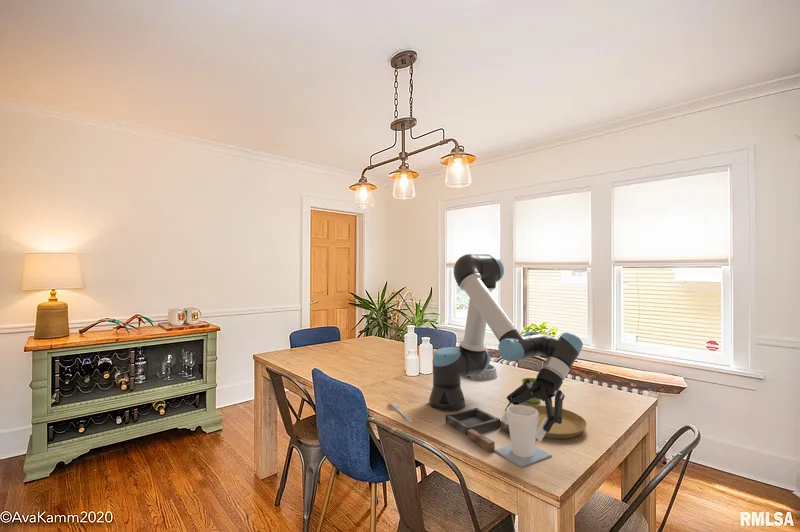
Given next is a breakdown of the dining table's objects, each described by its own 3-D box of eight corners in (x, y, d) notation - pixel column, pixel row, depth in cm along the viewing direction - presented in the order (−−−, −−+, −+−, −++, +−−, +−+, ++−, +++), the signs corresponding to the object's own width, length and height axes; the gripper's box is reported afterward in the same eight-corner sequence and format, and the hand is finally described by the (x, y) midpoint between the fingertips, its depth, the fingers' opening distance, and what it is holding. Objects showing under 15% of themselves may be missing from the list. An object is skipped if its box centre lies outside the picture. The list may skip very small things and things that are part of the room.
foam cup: (505, 456, 112) (504, 413, 112) (508, 442, 120) (508, 403, 120) (538, 462, 108) (538, 418, 108) (539, 448, 117) (539, 407, 117)
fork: (407, 429, 139) (408, 422, 138) (386, 405, 157) (386, 398, 157) (414, 427, 140) (414, 420, 140) (392, 403, 158) (392, 397, 158)
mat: (494, 451, 116) (494, 449, 116) (524, 441, 122) (524, 440, 122) (521, 467, 106) (521, 466, 106) (551, 456, 112) (551, 454, 112)
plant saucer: (550, 448, 118) (550, 438, 118) (501, 420, 140) (501, 411, 140) (602, 434, 128) (602, 424, 128) (549, 410, 150) (549, 401, 150)
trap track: (443, 423, 137) (443, 415, 137) (478, 414, 145) (478, 407, 145) (489, 452, 115) (489, 443, 115) (528, 440, 123) (528, 431, 123)
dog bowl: (483, 369, 210) (483, 360, 210) (504, 378, 193) (503, 368, 193) (457, 373, 203) (457, 363, 203) (476, 382, 186) (476, 372, 186)
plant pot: (546, 405, 154) (546, 384, 154) (522, 404, 156) (522, 383, 156) (542, 397, 163) (542, 378, 163) (520, 396, 165) (520, 377, 165)
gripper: (593, 392, 111) (560, 454, 104) (528, 372, 133) (497, 422, 126) (581, 377, 108) (547, 440, 101) (517, 359, 130) (485, 409, 123)
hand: (519, 430), depth 113 cm, fingers open, 13 cm apart
